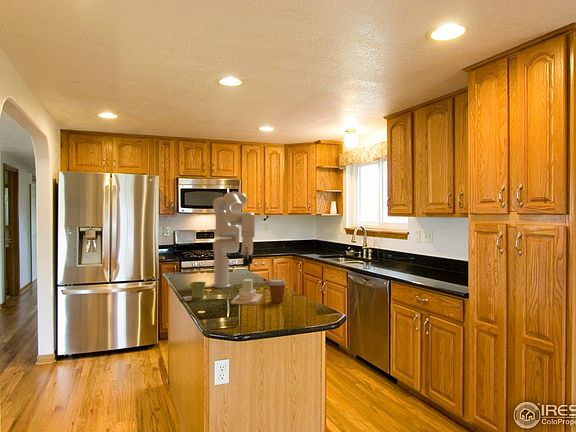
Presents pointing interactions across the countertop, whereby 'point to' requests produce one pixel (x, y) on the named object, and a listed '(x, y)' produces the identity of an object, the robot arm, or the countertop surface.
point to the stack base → (249, 301)
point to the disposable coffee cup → (277, 290)
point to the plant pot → (197, 289)
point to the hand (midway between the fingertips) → (247, 264)
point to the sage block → (247, 285)
